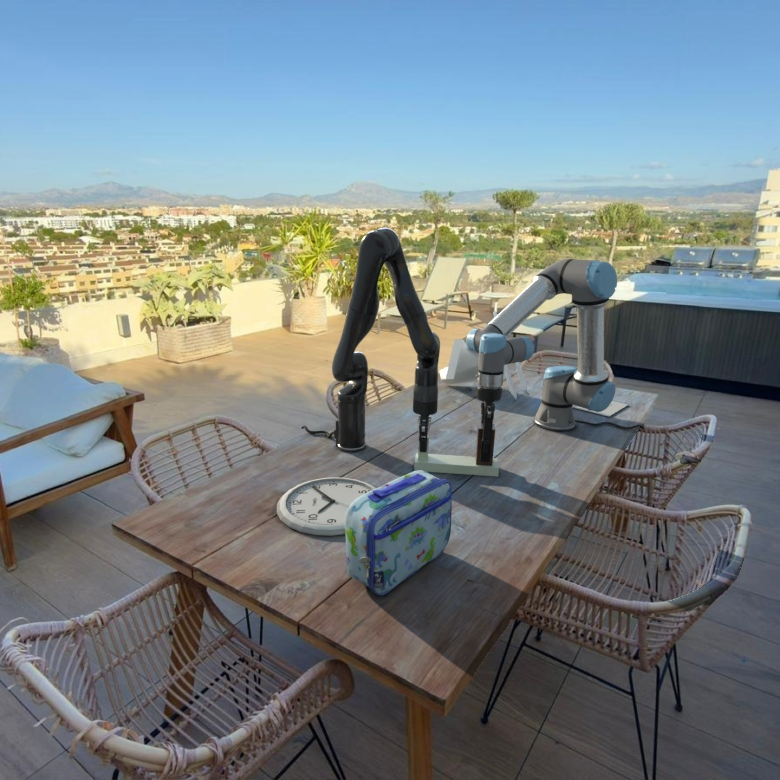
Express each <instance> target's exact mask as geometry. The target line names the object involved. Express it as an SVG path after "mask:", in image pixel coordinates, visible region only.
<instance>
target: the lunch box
mask: <svg viewBox="0 0 780 780" xmlns="http://www.w3.org/2000/svg"><path fill="white" fill-rule="evenodd" d="M452 503H453V501H452V484H451V483H450V481H449V480H448V479H445V478H438V477H436V476H435V475H433V474H431V473H430V472H425V471H422V470H417V471H414V470H413V471H411V472H409V473H407V474H404V475H402V476H399V477H398V478H396V479H393V480H391V481H388V482H387V483H385V484H382V485H381V486H379V487H376V489H374V490H372V491H370V492H368V493H366V494H364V495H362V496H360V497H358V498H356V499H355V500H354V501H353V502H352V503H351V505H350V506H349V508H348V510H347V513H346V517H345V534H344V535H345V561H346V571H347V574H348V576H349V577H350V578H352V579H354V580H356V581H358V582H359V583H361V584H363V585H364V586H366V587H367V588H369V590H370V591H371V592H372V593H374V594H376V595H378V596H385V595H386V594H389V593H390V592H391V591H392V590H393V589H395V588H396V587H397V586H398V585H400V584H401V583H402V582H404V581H405V580H407V579H409V578H410V577H411V576H412V575H414V574H415V573H416V572H418V571H419V570H420V569H421V568H422V567H424V566H425V565H427V564H428V563H430V562H431V561H433V560H435V559H436V558H438V557H440V556H441V554H442V553H443V552H444V551H445V549H446V548H447V546H448V543H449V540H450V537H451V533H452V532H451V531H452V511H453V510H452V509H453V508H452V507H453V504H452Z"/></svg>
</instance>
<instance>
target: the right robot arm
mask: <svg viewBox="0 0 780 780" xmlns="http://www.w3.org/2000/svg"><path fill="white" fill-rule="evenodd" d="M617 287H618V273H617V271H616V269H615V267H614V265H612V264H611V263H610V262H607V261H602V260H598V259H595V260H594V259H577V258H564V259H561V260H558V261H555V262H553V263H552V264H550V265H549V266H547V267H545V268H544V269H542V270H541V271H539V273H537V274H536V275H535V276H534V277H533V278H532V280H531V283H530V285H528V286H527V287H526V288H525V289H524V290H523V291H522V292H521V293H520V294H519V295H517V296H516V297H515V298H514V299H513V300H512V301H510V303H509V304H508V305H507V306H505V308H503V309H502V310H501V311H500V312H499V313H497V314H498V315H497V316H496V317H495V318H494V317H493V319H492V320H490V321H489V323H487V325H485V326H483V328H481V329H480V328H474V329H471V330H470V331H469V332H468V334H467V336H466V339H465V343H466V344H467V347H468V349H469V350H471V351H473V352H476V353H478V354H479V363H478V374H477V375H476V376H475V377H476V378H478V379H477V383H476V385H477V386H476V391H475V392H476V394H475V397H476V399H477V400H479V401H482V402H481V403H480V409H481V410H480V415H481V418H480V423H483V439H482V440H480V442H482V443H481V457H480V462H489V460H490V447H491V443H492V427H493V424H494V423H493V422H494V417H495V411H496V405H495V402H499V401H501V400H502V396H503V395H502V393H503V385H504V376H505V373H504V365H506V364H507V365H511V364H515V363H517V362H520V363H523V362H525V361H528V360H530V359H532V358H533V356H534V353H535V345H534V342H533V341H532V339H531V338H529V337H527V336H517V337H515V336H510V335H511V334H512V333H513V332H514V331H516V330H517V329H518V328H519V327H520V326H521V325H522V324H523V323H524V322H525V321H526V320H527V319H528V318H529V317H530V316H532V314H534V312H536V311H537V310H538V309H539V308H540V307H541V306H542V305H543V304H544V303H545V302H546V301H550V300H553V299H554V298H555V297H556V296H557V295H562V294H566V295H571V303H572V305H574V306H575V307H576V328H577V329H576V335H577V336H576V337H577V342H576V343H577V367H576V366H571V365H570V366H569V365H557V366H556V365H555V366H550V367H547V368H546V369H545V371H544V375H543V378H542V379H543V381H542V382H543V383H542V394H541V402H540V405H539V407H538V410H537V411H536V413H535V417H534V424H535V425H536V426H537V427H539V428H542V429H544V430H549V431H556V432H567V431H572V430H574V429H575V428H576V423H577V424H584V425H588V426H592V427H598V426H602V425H610V426H614V427H616V428H619V429H623V430H633V429H635V428H640V429H641V430H645V429H646V428H645V426H643V424H642V425H641V424H635V425H632V426H623V425H620V424H617V423H614V422H610V421H602V422H598V423H593V422H589V421H584V420H578V419H576V418H575V417H576V416H575V413H574V407H573V406H575V407H576V406H579V407H582V408H585V409H588V410H592V411H596V412H601V411H603V410H605V409H606V408H607V407H608V406H609V405H610V403H611V402H612V401H614V398H615V395H616V389H617V388H616V384H615V383H614V382H613V381H610V380H609V372H608V371H607V370H605V362H604V361H605V356H604V355H605V306H606V304H607V303H608V302H609V301H610V298H612V297H613V295H614V294H615V292H616V288H617Z"/></svg>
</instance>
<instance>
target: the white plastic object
mask: <svg viewBox="0 0 780 780" xmlns="http://www.w3.org/2000/svg"><path fill="white" fill-rule="evenodd" d="M498 314H499V313H498V312H497V311H496V310H495V311H492V315H493V319H494V318H495V317H496V316H497V315H498ZM478 363H479V354H478V353H476V352H473V351H471V350H469V349H468V347H467V344H466V341H465V340H464V339H463V338H460V339H458V338H454V340H453V344H452V349H451V353H450V357H449V362H448V366H446V367H444V368H442V369H440V370H439V369H438V373H439V376H440V381H442V383H443V384H444V385H445V386H449V385H458V384H467V383H468V384H469V383H473V384H477V379H478V378H476V377H475V376H476V375H477V374H478ZM514 366H515V369H516V372H517V376H518V380H519V382H520V385H521V389H522V391H523V393H524V395H525V396H526V397H528V396H531V395H530V390H529V388H528V387H529V386H528V384H527V381H526V378H525V375H524V371H523V369H522V368H523V367H522V366H521V362H517V363H514ZM504 376H505V380H506V383H507V386H508V390H509V393H510V394H511V395H512V397H513V398H514V399H515V400H517V392H516V391H517V390H516V388H515V385H514V381H513V378H512V375H511V371H510V369H509V364H506V365H504Z"/></svg>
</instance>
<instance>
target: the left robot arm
mask: <svg viewBox="0 0 780 780" xmlns="http://www.w3.org/2000/svg"><path fill="white" fill-rule="evenodd" d="M384 265H385V267H386V268H387V271H388V273H389V275H390V279H391V282H392V289H393V297H394V302H395V306H396V308H397V311H398V313H399V315H400V317H401V319H402V321H403V324H404V326H405V327H406V330H407V333H408V336H409V340H410V342H411V345H412V347H413V350H414V351H415V353H416V366H415V368H414V385H413V392H412V393H413V395H412V412H413V413H414V414H416V415H418V419H417V424H418V426H417V427H418V428H417V432H418V442H419V441H420V452H427V441H428V434H429V435H430V431H431V424H432V416H433V415H436V414H437V412H438V404H439V403H438V402H439V386H438V385H439V384H438V383H439V381H438V380H439V361H440V353H441V352H440V351H441V340H440V337H439V335H438V334H437V333H435V332H434V331H432V328H431V326H430V324H429V318H428V314H427V312H426V310H425V308H424V305H423V304H422V302H421V299H420V297H419V294H418V292H417V290H416V287H415V285H414V282H413V279H412V277H411V274H410V271H409V267H408V263H407V261H406V257H405V254H404V250H403V247H402V244H401V241H400V238H399V236H398V234H397V233H396V232H395V231H394V230H393V229H392V228H389V227H381V228H377V229H375V230H371V231H369V232H367V233H366V234H365V235H364V236H363V237H362V238H361V241H360V244H359V248H358V255H357V264H356V271H355V277H354V280H353V285H352V289H351V294H350V298H349V302H348V305H347V310H346V314H345V319H344V324H343V327H342V331H341V335H340V339H339V340H338V344H337V346H336V350H335V353H334V355H333V358H332V362H331V373H332V377H333V378H334V380H335V381H336V382H339V383H345V382H347V383H346V385H344V386H343V387H342V388H340V389H339V390H338V392H337V419H336V420H335V429H334V430H333V431H331V432H330V433H329V432H328V431H326V430H310V429H309V428H308V427H307V426H306V425H302V426H301V427H300V429H301V430H302V429H304V430H305V431H306V433H308V434H310V435H311V434H312V435H314V434H315V435H316V434H325V435H326V437H327V438H328V439H331V438H332V437H333V439H334V440H335V447H337V448H338V449H339V450H341V451H345V452H359V451H362V450H363V449H365V448H366V435H367V434H366V433H367V432H366V395H367V392H368V380H369V379H368V377H369V363H368V359H367V357H366V355H365V354H364V353H363V352H361V351H356V349H357V347H358V346H359V345H360V343H361V342H363V340H364V339H365V338H366V336H367V335H368V334H369V333H370V332H371V330H372V329H373V327H374V326H375V324H376V321H377V318H378V317H377V316H378V313H379V309H380V296H379V295H380V294H379V288H378V285H379V279H380V276H381V272H382V269H383V267H384ZM421 436H425V437H426V438H425V437H421Z"/></svg>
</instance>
